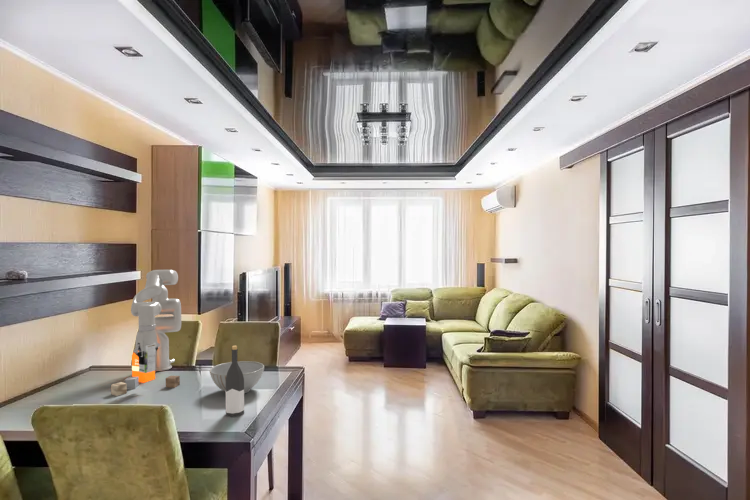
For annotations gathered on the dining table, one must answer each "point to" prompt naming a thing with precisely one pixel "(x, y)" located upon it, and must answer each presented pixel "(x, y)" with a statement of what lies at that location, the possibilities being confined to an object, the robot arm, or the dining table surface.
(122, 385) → the maple cube
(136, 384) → the slate painted cube
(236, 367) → the wine bottle
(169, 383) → the walnut cube
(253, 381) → the decorative bowl
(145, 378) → the orange juice
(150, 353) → the syrup box
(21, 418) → the dining table surface
